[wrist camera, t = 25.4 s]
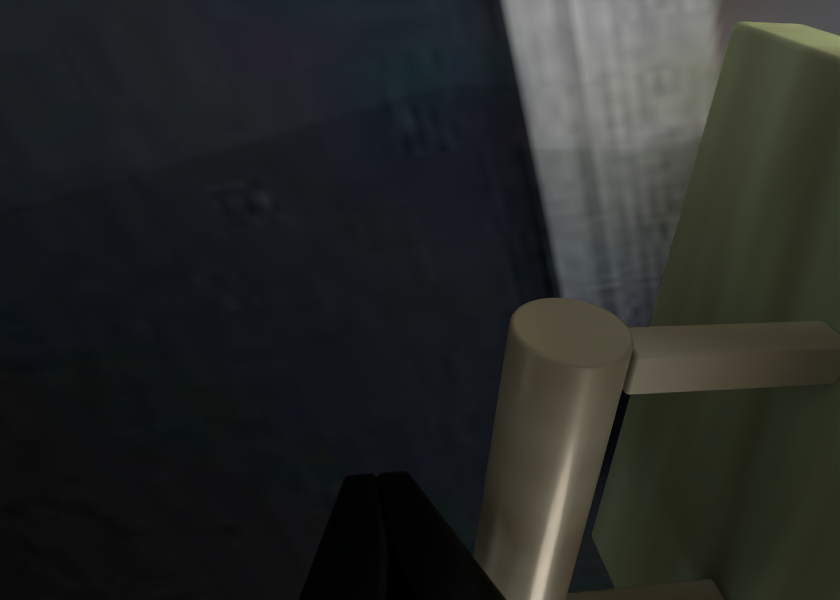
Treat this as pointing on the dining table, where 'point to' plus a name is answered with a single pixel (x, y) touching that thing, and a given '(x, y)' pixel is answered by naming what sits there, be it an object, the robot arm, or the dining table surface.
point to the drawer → (696, 373)
